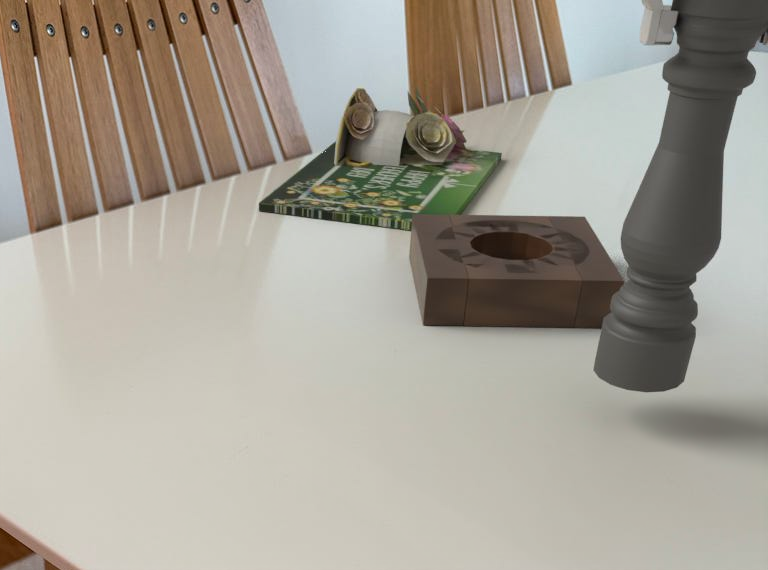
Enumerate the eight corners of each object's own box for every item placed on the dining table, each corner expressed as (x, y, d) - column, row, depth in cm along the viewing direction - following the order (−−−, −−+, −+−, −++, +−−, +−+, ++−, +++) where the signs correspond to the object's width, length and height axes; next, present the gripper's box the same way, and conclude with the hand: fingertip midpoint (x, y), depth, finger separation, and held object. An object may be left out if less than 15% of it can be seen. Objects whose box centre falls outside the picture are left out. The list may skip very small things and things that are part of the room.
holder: (576, 259, 99) (584, 216, 97) (614, 328, 87) (624, 281, 84) (408, 257, 99) (412, 213, 97) (422, 325, 87) (427, 278, 85)
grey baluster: (628, 345, 76) (720, -68, 60) (702, 374, 72) (821, -57, 56) (574, 369, 73) (656, -59, 57) (649, 401, 69) (758, -47, 53)
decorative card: (355, 66, 128) (517, 81, 123) (352, 134, 133) (507, 150, 128) (258, 131, 105) (453, 152, 99) (258, 210, 109) (445, 234, 104)
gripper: (971, -277, 53) (873, 33, 62) (567, -276, 53) (528, 32, 62) (1037, -282, 48) (921, 55, 57) (593, -280, 48) (546, 55, 57)
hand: (713, 43), depth 60 cm, fingers closed on grey baluster, 5 cm apart
